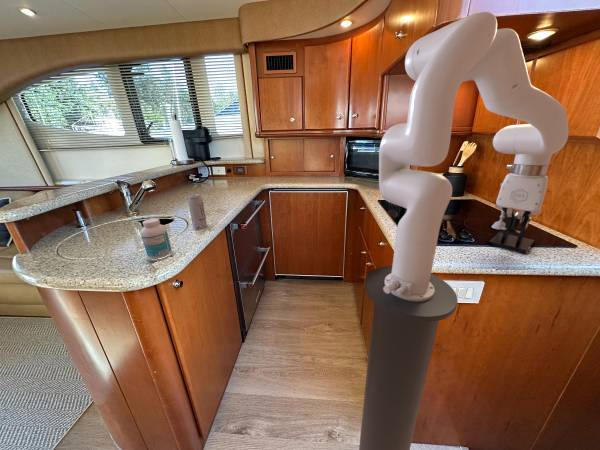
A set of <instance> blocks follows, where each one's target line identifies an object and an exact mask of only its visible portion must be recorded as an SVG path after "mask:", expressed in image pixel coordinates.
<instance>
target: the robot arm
mask: <svg viewBox="0 0 600 450" xmlns="http://www.w3.org/2000/svg"><path fill="white" fill-rule="evenodd" d="M404 68H405V73H406V74H407V76H408V77H409V78H410V79H411V80H413V81H415V82H414V84H413V86H412V89H411V92H410V95H409V100H408V108H407V109H408V111H407V119H406V122H402V123H397V124H394V125H392V126H390V127H389V128H388V129H387V130H386V131H385V133H384V134H383V136H382V138H381V140H380V144H379V149H378V151H379V152H378V187H379V193H380V195H381V197H382V198H383V199H384V200H385V201H386V202H388V203H390V204H393V205H395V206H399V207H402V208H404V209H406V211H405V213H404V215H403V216H402V217H401V218H400V219H399V221H398V223H397V226H396V231H395V232H396V233H395V242H394V248H393V258H392V265H391V266H392V273H391V274H389V275H387V276H386V278H385V282H384V284H385V286H384V287H383V290H384V292H385V293H387V294H388V293H390V292H391V293H392V294H393V295H395V296H397V297H399V298H402V299H404V300H408V301H416V302H420V301H426V300H429V299H431V298H432V297H433V295H434V291H435V289H434V286H433V285H432V284H431V283H430V282H429V281H430V276H431V274H432V271H433V267H434V266H433V265H434V260H435V255H436V250H437V245H438V240H439V235H440V231H441V230H440V229H441V226H442V223H441V222H442V219H443V220H444V215H445V213H446V210H447V209H448V206H449V204H450V201H451V199H452V194H453V184H452V183H451V181H450V180H449V179H448V178H447V177H446V176H444V175H442V174H440V173H437V172H433V171H426V170H419V169H411V166H415V167H435V166H438V165H441V164H442V163H443V162H444V161H445V159H446V158H447V156H448V153H449V150H450V144H451V137H452V130H453V129H452V128H453V121H454V120H453V119H454V111H455V105H456V99H457V95H458V91H459V89H460V87H461V85H462V83H465V82H469V81H473V82H475V85H476V87H477V89H478V92H479V95H480V97H481V99H482V103H483V105H484V107H485V109H486V110H487V111H489V112H491V113H493V114H495V115H499V116H503V117H507V118H511V119H515V120H519V121H522V122H523V123H526V124H512V125H507V126H505V127H501V129H499V131H497V132H496V133H495V135H494V136H493V139H492V146H493V149H494V150H495V151H496V152H498V153H501V154H507V155H508V154H509V155H515V157H514V161H513V163H512V164H507V165H506V167H505V170H506V171H509V172H510V173H507V174H506V176H505V178H504V179H503V180H502V183H503V184H502V186H501V185H500V188H499V192H498V195H497V197H496V203H495V205H494V208H495V209H497V210H500V211H502V210H503V211H504V212H505V214H504V215H506V221H505V226H507V229H508V230H509V229H510V230H516V229H519V226H520V224H521V223H520V220H521V218H523V217H525V216H527V215H531V216H539V215H541V213H542V205H543V204H544V201H545V198H546V195H547V191H548V190H547V189H548V183H549V176H548V175H546V174H547V172H548V168H549V166H550V164H551V160H552V156H553V155H554V154H556V153H558V152H560V151H561V150H562V149H563V148H564V147H565V145H566V144H567V141H568V139H569V135H570V133H569V132H570V131H569V130H570V129H569V128H570V127H569V120H568V115H567V112H566V108H565V107H564V105H562V104H561V102H560V101H559V100H557V99H556V98H554V97H553V96H552V95H550V94H548V93H546V91H543V90H541V89H539V88H537V87H535V86H534V85H532V83H531V79H530V75H529V72H528V67H527V63H526V60H525V56H524V52H523V47H522V45H521V40H520V38H519V34H518V33H517V32H516V31H515V30H514V29H512V28H509V27H508V28H506V27H505V28H498V20H497V16H495V15H494V14H493V13H491V12H489V11H482V12H481V11H480V12H476V13H472V14H470V15H467V16H464V17H462V18H460V19H458V20H455V21H453V22H451V23H449V24H447V25H445V26H442V27H441V28H438V29H437V30H435V31H433V32H430V33H427V34H426V35H424V36H421V37H420V38H419V39H417V40H415V41H414V43H413V44H411V46H409V48H408V50H407V52H406V54H405V59H404ZM514 210H519V211H518V212H519V213H518V215H516V216H514ZM507 217H508V218H507Z"/></svg>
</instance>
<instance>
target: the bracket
mask: <svg viewBox="0 0 600 450" xmlns="http://www.w3.org/2000/svg"><path fill="white" fill-rule="evenodd" d="M516 213H517V209H514V216H515V214H516ZM507 218H508V217H507V216H506V219H507ZM532 218H533V217H532V215H527V216H525V217H524V220H523V221H522V223H521V227H520V230H519V231H521V233H520V235H519V237H518V236H514V235H509V234H505V233H500V232H499V231H498V232H497V233H496V234H495V235H494V236H493V237H492V238H491V239H490V240H489V241H488V246H492V247H495V248H500V249H503V250H507V251H512V252H515V253H519V254H522V255H527V253H529V250H530V249H531V248H532V246H533V245H534V244H535V243H534V242H535V239H533V238H532V239H531V238H528V237H525V235H526V233H527V229H528V226H529V224H530V222H532ZM505 228H507V226H505Z"/></svg>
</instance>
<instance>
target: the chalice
mask: <svg viewBox="0 0 600 450" xmlns="http://www.w3.org/2000/svg"><path fill="white" fill-rule="evenodd" d="M502 184H503V182H501V183H500V187H501V186H502ZM505 215H506V214H505V212H504V211H503V210H501V212H500V215H499V220H498V221H495V222H494V223H493V224H492V225H491V228H492V229H495V230H499V229H500V228H501V227H503V228H505V224H506V222H504V219H505V218H506V216H505Z"/></svg>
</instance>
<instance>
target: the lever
mask: <svg viewBox="0 0 600 450" xmlns="http://www.w3.org/2000/svg"><path fill="white" fill-rule="evenodd" d="M518 213H519V211H516V214H515V216H516V215H518ZM523 220H524V217H523V218H521V220H520V223H519V224H522V223H523ZM499 232H500V233H505V234H509V235H514V236H518V237H519V235H520V233H521V231H520V230H516V229H514V230H510V229H509V230H508V229H507V228H503V227H501V228H500V229H499V231H498V233H499Z"/></svg>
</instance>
